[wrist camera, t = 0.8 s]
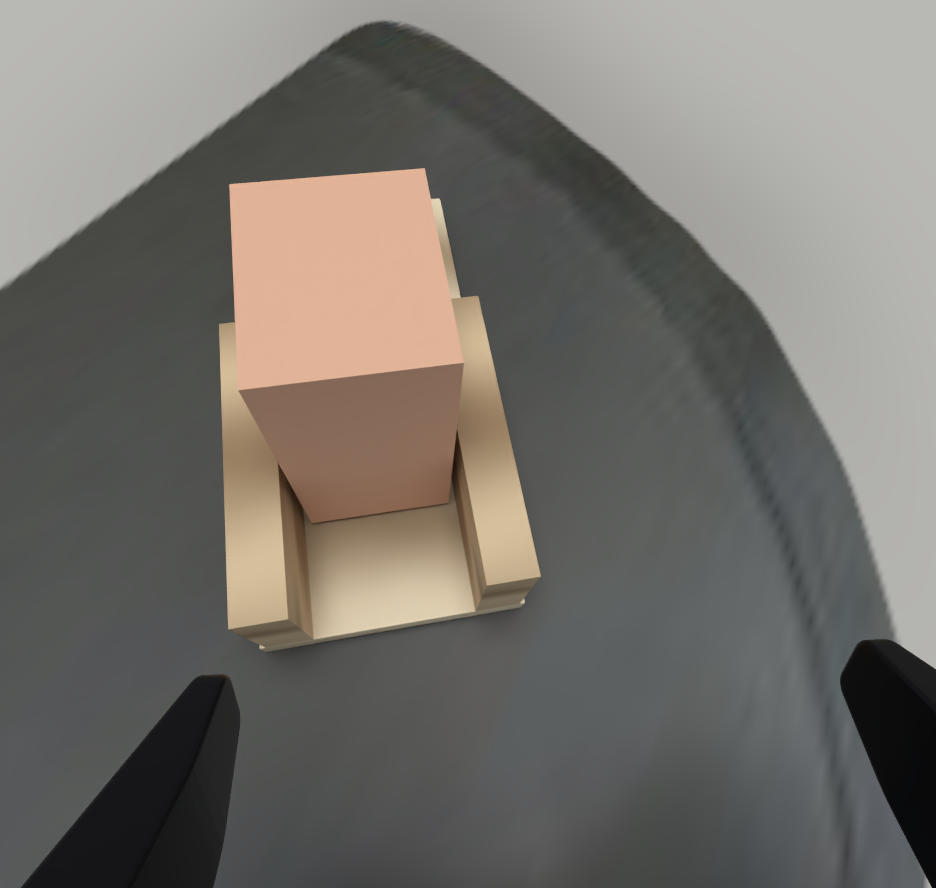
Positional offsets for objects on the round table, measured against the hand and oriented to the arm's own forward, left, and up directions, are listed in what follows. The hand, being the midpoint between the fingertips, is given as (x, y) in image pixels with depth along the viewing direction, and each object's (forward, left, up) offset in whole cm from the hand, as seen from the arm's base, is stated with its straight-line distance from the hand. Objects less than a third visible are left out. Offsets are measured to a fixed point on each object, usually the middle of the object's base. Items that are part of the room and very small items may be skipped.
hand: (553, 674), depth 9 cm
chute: (+10, +7, -14) cm, 19 cm away
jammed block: (+8, +6, -13) cm, 17 cm away
